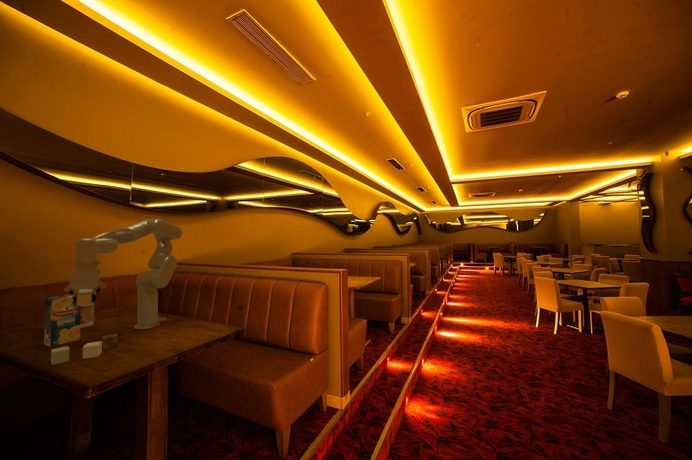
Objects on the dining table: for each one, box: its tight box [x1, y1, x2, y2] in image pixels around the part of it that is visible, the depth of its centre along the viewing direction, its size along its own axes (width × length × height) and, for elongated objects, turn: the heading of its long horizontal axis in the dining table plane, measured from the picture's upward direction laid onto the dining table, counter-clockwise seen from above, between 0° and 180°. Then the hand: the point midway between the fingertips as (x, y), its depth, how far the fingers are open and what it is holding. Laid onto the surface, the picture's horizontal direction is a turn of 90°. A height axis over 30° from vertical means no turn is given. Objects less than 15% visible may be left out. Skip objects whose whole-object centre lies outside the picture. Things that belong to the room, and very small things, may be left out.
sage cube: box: [50, 345, 70, 366], centre depth 117 cm, size 5×5×5 cm
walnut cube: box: [102, 333, 119, 350], centre depth 132 cm, size 5×5×5 cm
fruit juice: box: [78, 289, 95, 329], centre depth 164 cm, size 9×9×28 cm
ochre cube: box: [77, 292, 93, 306], centre depth 132 cm, size 5×5×5 cm
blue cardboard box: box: [43, 294, 81, 347], centre depth 139 cm, size 7×11×22 cm, turn 155°
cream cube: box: [82, 340, 103, 360], centre depth 122 cm, size 5×5×5 cm
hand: (85, 303), depth 132 cm, fingers closed on ochre cube, 5 cm apart
